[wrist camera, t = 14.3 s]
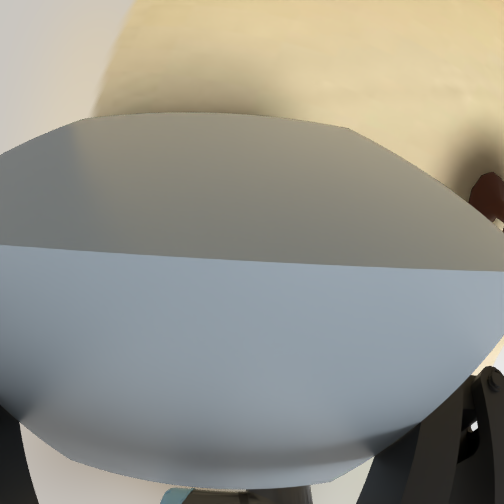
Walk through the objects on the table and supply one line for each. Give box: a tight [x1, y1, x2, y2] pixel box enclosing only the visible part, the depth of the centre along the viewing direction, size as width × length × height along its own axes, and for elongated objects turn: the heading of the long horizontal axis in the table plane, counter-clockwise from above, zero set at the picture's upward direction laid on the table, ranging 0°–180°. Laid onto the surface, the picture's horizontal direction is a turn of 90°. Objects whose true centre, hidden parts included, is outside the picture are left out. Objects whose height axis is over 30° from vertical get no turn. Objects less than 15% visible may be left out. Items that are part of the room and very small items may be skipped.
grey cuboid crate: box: [0, 112, 504, 489], centre depth 8 cm, size 10×10×9 cm
